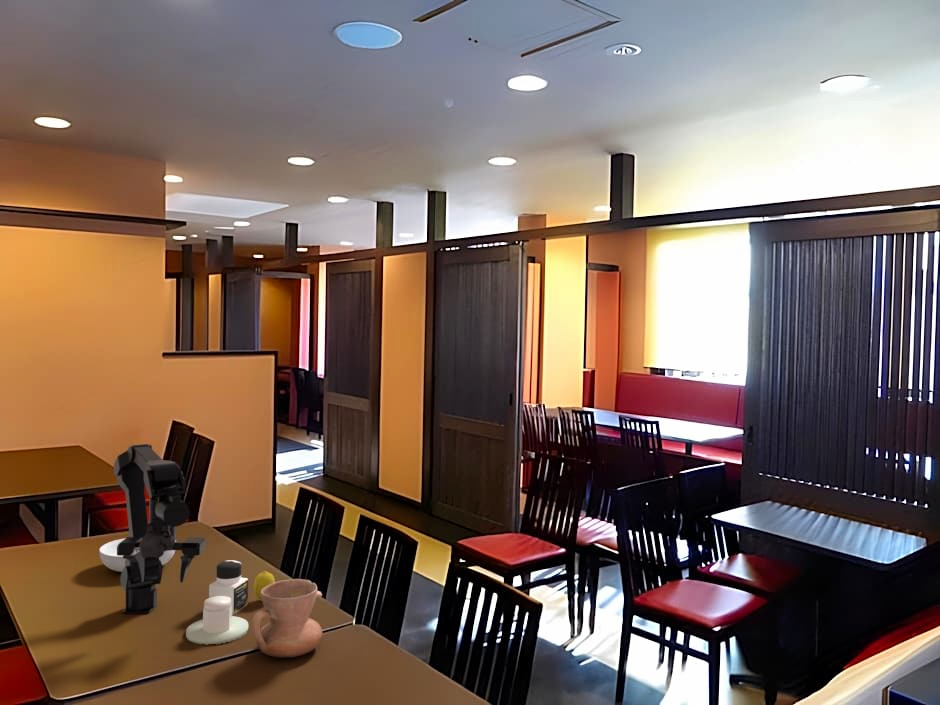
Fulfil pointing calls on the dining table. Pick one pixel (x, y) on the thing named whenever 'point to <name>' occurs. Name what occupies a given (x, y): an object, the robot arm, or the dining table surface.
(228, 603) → the white lidded jar
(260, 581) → the lemon
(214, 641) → the post stand
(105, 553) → the serving bowl
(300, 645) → the ceramic jug
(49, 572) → the dining table surface
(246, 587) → the medicine bottle
